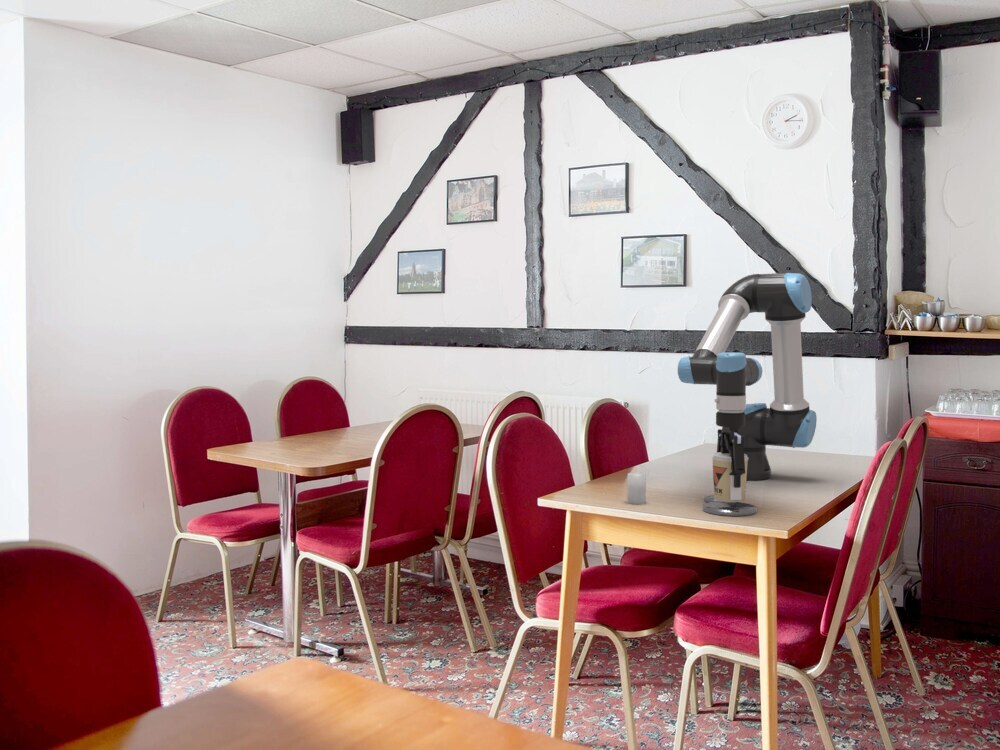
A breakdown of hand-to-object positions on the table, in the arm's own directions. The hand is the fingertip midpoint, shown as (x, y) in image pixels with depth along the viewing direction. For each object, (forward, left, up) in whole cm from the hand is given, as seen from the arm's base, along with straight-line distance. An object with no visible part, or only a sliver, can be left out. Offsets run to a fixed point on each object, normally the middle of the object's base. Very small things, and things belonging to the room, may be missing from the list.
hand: (729, 495), depth 245 cm
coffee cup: (0, 0, -1) cm, 1 cm away
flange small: (-1, -12, -4) cm, 13 cm away
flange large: (0, 0, -4) cm, 4 cm away
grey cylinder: (+22, -13, -4) cm, 26 cm away
